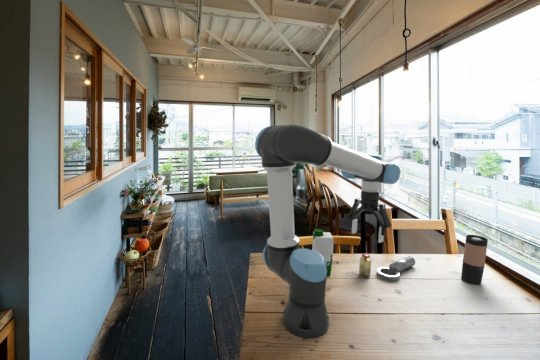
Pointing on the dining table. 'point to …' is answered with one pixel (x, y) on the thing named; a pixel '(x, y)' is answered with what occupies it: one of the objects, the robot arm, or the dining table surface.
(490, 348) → the dining table surface
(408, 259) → the grey ring-headed tool
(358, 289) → the dining table surface
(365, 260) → the yellow jar pink lid
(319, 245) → the milk carton
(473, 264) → the travel mug
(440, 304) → the dining table surface
